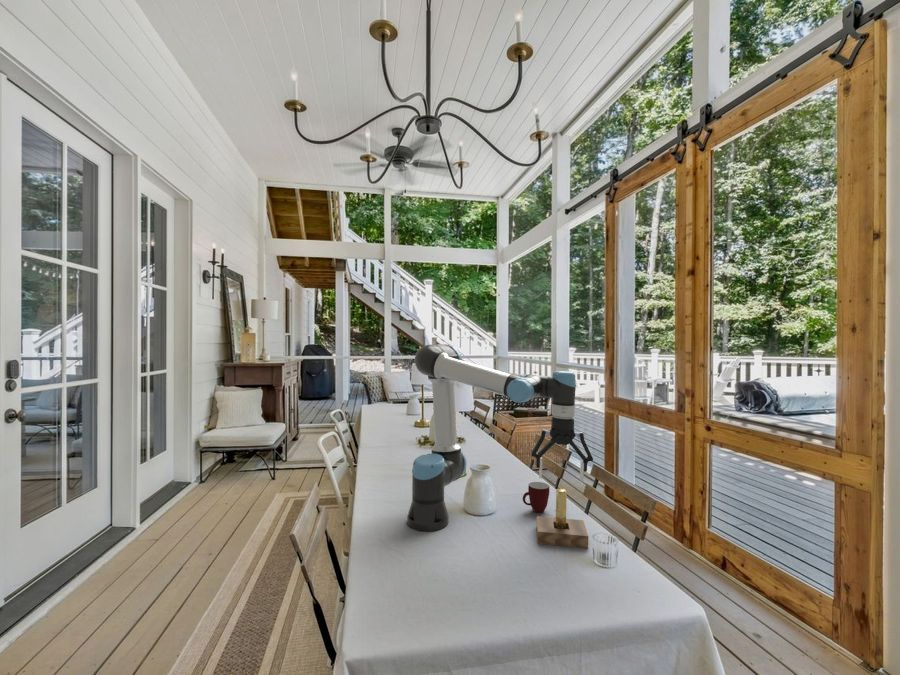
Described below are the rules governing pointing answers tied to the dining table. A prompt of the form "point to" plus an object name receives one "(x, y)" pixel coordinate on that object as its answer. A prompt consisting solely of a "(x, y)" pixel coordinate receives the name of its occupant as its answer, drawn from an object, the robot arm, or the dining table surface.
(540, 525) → the socket block
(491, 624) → the dining table surface
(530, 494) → the mug
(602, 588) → the dining table surface
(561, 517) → the brass peg
